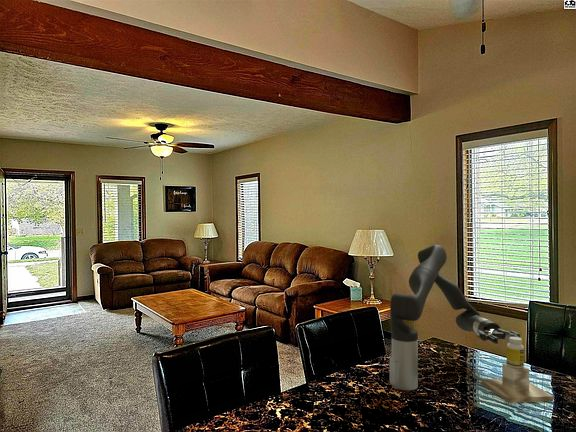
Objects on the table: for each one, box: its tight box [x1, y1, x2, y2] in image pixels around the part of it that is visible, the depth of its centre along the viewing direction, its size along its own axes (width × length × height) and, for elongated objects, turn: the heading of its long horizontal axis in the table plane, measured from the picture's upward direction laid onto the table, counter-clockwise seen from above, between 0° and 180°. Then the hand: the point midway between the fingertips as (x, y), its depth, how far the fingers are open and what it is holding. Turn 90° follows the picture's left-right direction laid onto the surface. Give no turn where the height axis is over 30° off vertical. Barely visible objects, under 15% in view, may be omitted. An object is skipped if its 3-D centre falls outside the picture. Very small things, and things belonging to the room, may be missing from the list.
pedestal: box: [480, 362, 554, 404], centre depth 147 cm, size 16×16×9 cm
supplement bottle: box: [506, 337, 525, 368], centre depth 147 cm, size 5×5×10 cm
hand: (508, 341), depth 151 cm, fingers open, 8 cm apart
